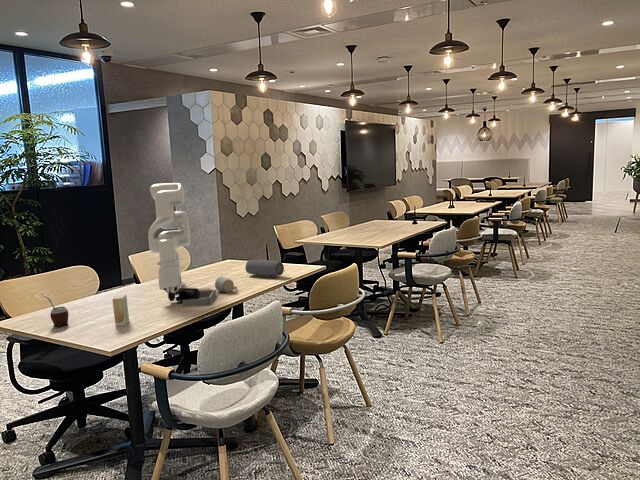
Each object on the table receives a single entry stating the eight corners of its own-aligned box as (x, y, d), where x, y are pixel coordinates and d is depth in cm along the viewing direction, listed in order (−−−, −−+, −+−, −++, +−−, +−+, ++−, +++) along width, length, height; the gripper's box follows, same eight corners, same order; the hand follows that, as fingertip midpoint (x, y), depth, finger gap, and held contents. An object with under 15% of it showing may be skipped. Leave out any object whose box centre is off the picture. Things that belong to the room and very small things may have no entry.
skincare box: (119, 322, 224) (116, 295, 223) (129, 321, 225) (126, 294, 223) (115, 326, 218) (111, 298, 216) (125, 325, 218) (122, 297, 217)
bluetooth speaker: (285, 276, 301) (284, 259, 300) (275, 279, 294) (274, 262, 292) (255, 273, 314) (254, 257, 312) (245, 276, 306) (244, 260, 305)
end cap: (200, 300, 255) (199, 287, 254) (193, 304, 248) (191, 290, 247) (183, 299, 258) (181, 286, 257) (175, 303, 251) (174, 290, 250)
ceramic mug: (223, 294, 265) (222, 279, 264) (215, 292, 271) (214, 277, 270) (240, 290, 272) (239, 276, 271) (231, 288, 278) (231, 274, 277)
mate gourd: (72, 323, 227) (68, 290, 225) (64, 328, 219) (60, 294, 217) (55, 324, 227) (51, 291, 225) (46, 329, 219) (42, 295, 217)
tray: (190, 297, 263) (190, 291, 262) (215, 295, 263) (215, 289, 263) (182, 306, 245) (182, 300, 244) (210, 304, 245) (209, 298, 245)
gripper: (150, 266, 247) (154, 303, 249) (181, 264, 247) (185, 301, 250) (155, 263, 254) (159, 299, 257) (185, 261, 255) (188, 297, 257)
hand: (172, 300), depth 253 cm, fingers closed
